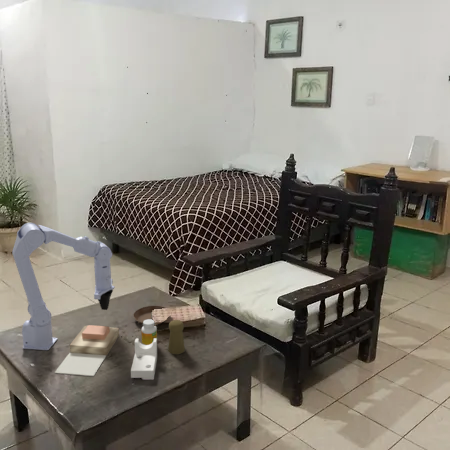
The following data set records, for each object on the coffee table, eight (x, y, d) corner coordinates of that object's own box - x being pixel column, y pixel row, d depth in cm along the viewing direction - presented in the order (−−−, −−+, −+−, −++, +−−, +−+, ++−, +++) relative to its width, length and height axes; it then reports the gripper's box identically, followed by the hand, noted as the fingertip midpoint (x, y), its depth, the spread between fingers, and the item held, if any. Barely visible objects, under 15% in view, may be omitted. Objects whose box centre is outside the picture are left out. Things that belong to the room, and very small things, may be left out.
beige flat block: (70, 352, 171) (69, 345, 170) (85, 332, 184) (84, 325, 183) (106, 355, 169) (106, 347, 169) (119, 335, 183) (118, 328, 182)
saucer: (140, 332, 186) (140, 325, 185) (128, 315, 198) (128, 309, 198) (176, 324, 192) (176, 318, 192) (163, 308, 205) (163, 302, 204)
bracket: (136, 358, 169) (135, 338, 167) (157, 357, 169) (156, 338, 167) (131, 380, 156) (130, 359, 154) (153, 380, 157) (153, 359, 155)
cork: (164, 349, 174) (163, 321, 171) (177, 343, 178) (176, 316, 175) (175, 356, 170) (175, 327, 167) (188, 349, 174) (188, 321, 171)
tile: (82, 338, 174) (81, 333, 174) (88, 330, 180) (88, 325, 180) (104, 339, 174) (103, 334, 173) (109, 331, 179) (109, 326, 179)
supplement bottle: (154, 351, 173) (153, 326, 170) (139, 349, 174) (138, 324, 171) (159, 343, 178) (158, 319, 175) (144, 341, 179) (144, 317, 176)
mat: (54, 373, 159) (54, 372, 159) (69, 353, 170) (69, 352, 170) (93, 376, 158) (93, 375, 157) (106, 356, 169) (106, 355, 169)
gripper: (106, 283, 174) (108, 318, 178) (119, 268, 187) (121, 301, 191) (87, 282, 174) (89, 317, 178) (101, 267, 188) (103, 300, 192)
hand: (104, 308), depth 185 cm, fingers closed
